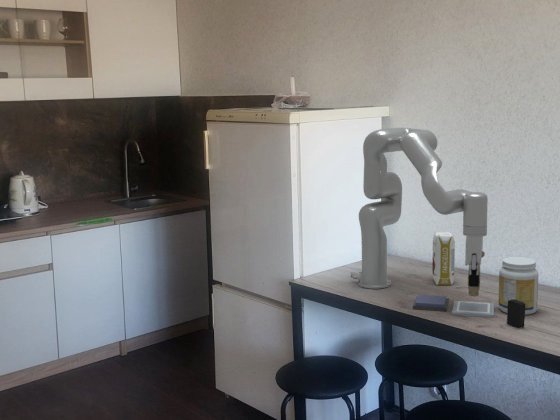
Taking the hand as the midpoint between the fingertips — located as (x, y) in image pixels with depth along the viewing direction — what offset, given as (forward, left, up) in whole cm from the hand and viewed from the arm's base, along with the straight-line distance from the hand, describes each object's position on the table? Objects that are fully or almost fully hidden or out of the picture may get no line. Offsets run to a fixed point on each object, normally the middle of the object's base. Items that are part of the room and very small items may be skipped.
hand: (474, 283), depth 223 cm
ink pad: (-14, +2, -9) cm, 17 cm away
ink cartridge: (+13, -13, -9) cm, 21 cm away
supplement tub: (+14, +3, -9) cm, 17 cm away
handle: (0, 0, -4) cm, 4 cm away
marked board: (0, 0, -9) cm, 9 cm away
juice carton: (-12, +31, -9) cm, 34 cm away
